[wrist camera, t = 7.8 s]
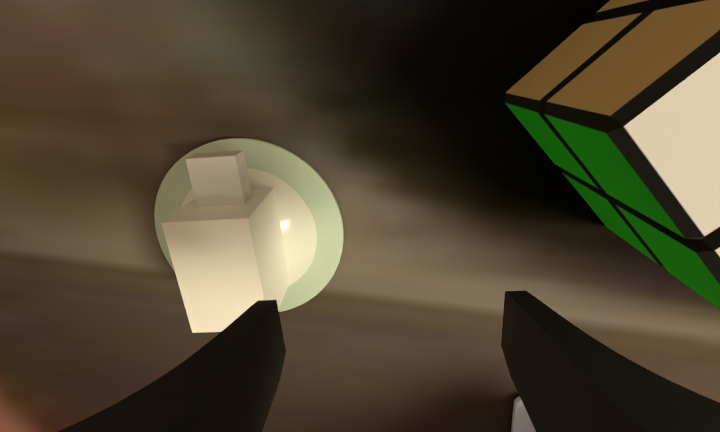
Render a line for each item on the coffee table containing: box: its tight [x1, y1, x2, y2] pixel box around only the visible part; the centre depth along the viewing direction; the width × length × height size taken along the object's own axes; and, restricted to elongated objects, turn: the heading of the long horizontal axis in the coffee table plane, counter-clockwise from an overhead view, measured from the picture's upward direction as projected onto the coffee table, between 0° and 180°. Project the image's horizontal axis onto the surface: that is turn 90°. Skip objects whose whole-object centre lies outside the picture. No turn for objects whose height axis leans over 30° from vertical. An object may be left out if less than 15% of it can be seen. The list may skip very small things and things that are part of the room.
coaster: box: [154, 138, 344, 312], centre depth 23 cm, size 11×11×1 cm
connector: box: [161, 150, 290, 333], centre depth 20 cm, size 8×4×4 cm, turn 4°
